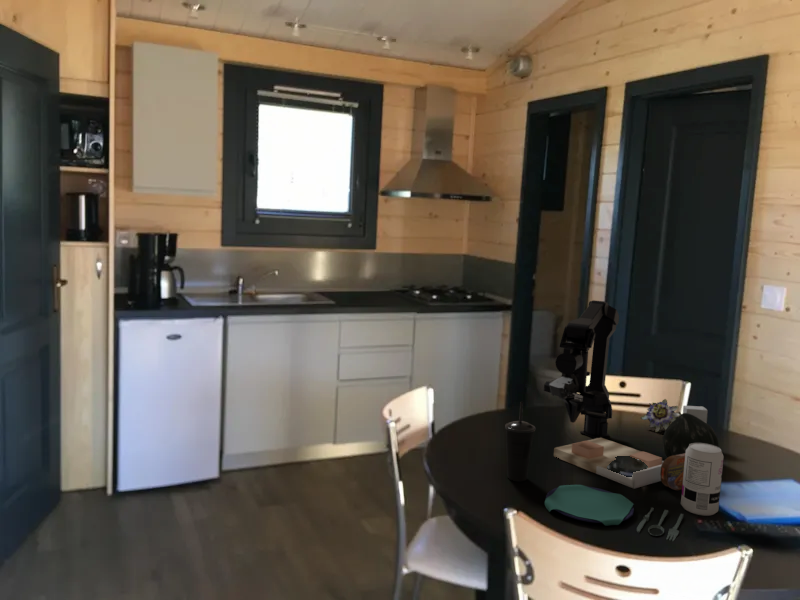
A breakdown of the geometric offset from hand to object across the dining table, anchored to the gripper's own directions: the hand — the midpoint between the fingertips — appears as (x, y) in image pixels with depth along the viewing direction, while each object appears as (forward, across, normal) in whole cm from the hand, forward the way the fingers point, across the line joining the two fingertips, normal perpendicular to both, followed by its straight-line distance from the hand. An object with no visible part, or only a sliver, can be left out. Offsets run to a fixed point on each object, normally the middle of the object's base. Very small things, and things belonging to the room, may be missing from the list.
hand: (572, 422), depth 201 cm
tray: (+10, +19, +5) cm, 22 cm away
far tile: (+9, +16, +11) cm, 22 cm away
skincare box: (+10, +12, +40) cm, 43 cm away
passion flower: (+10, -3, +47) cm, 49 cm away
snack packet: (+10, +30, +8) cm, 33 cm away
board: (+10, +6, +5) cm, 13 cm away
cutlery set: (+10, +32, -22) cm, 40 cm away
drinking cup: (+10, +5, -26) cm, 28 cm away
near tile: (+7, +6, 0) cm, 10 cm away
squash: (+10, +20, +26) cm, 35 cm away
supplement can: (+10, +41, -2) cm, 42 cm away
